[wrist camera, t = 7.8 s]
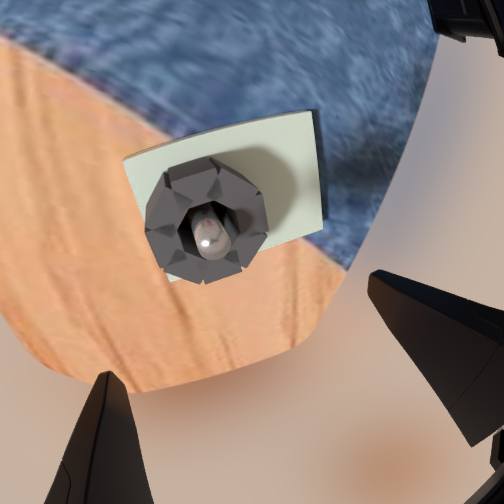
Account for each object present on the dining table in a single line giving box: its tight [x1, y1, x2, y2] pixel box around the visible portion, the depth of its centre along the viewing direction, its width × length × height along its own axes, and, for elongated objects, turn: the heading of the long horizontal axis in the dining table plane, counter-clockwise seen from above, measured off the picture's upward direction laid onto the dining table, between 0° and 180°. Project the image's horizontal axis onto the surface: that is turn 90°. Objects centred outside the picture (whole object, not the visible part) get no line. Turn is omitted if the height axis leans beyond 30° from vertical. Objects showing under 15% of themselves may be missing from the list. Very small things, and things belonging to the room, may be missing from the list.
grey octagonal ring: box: [145, 156, 269, 284], centre depth 16 cm, size 6×6×3 cm
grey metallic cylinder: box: [187, 202, 231, 260], centre depth 16 cm, size 2×2×6 cm
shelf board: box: [122, 110, 323, 282], centre depth 18 cm, size 12×9×1 cm
